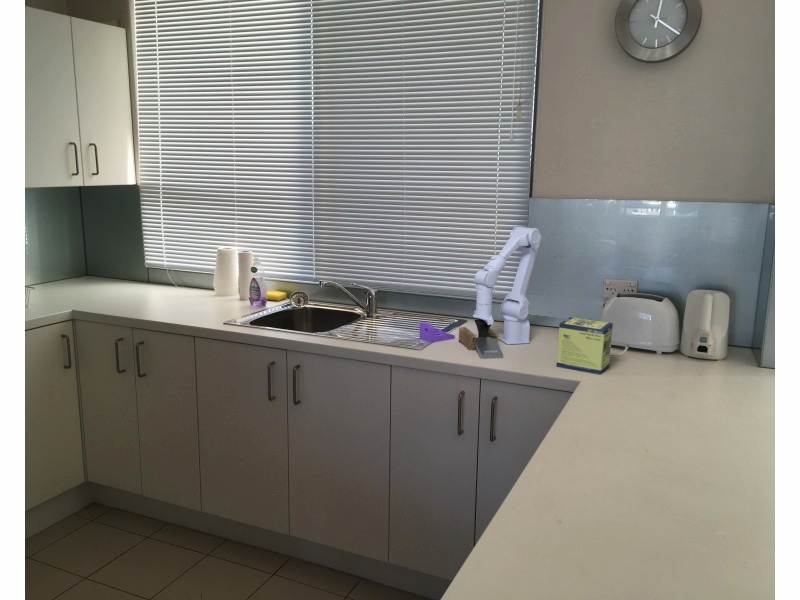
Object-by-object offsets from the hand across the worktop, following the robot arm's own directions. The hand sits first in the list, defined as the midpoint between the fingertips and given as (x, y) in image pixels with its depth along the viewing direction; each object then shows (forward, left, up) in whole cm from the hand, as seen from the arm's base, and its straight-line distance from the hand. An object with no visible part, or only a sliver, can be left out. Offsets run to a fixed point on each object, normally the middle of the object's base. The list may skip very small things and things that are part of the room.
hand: (482, 339), depth 249 cm
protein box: (-26, +27, -4) cm, 38 cm away
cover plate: (0, +6, -2) cm, 7 cm away
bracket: (+12, -16, -4) cm, 21 cm away
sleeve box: (0, -5, -4) cm, 6 cm away
